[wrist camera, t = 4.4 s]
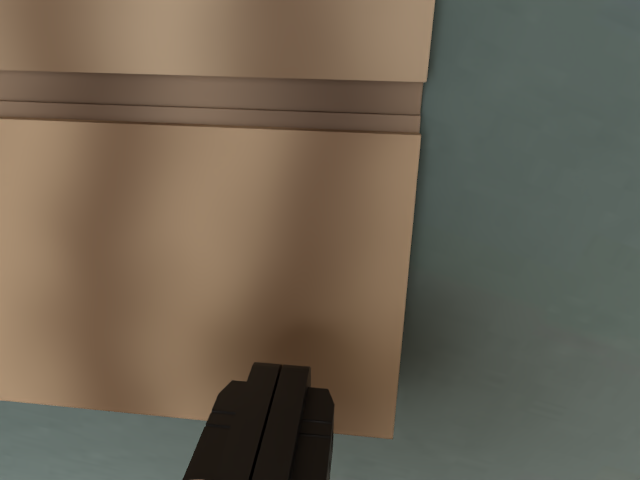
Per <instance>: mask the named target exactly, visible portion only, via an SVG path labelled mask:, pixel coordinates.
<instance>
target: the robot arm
mask: <svg viewBox="0 0 640 480" xmlns="http://www.w3.org/2000/svg"><path fill="white" fill-rule="evenodd" d="M334 407H335V404H334V402H333V399H332V397H331V394H330V392H329V390H328V389H325V388H314V387H311V367H309V366H297V365H286V364H283V366H282V364H273V363H261V362H254V363H253V365H252V368H251V371H250V373H249V376H248V379H247V381H236V380H232V381H231V382H230V383H229V384H228V385H227V386H226V387H225V388H224V389H223V390H222V391H221V392H220V393H219V394H218V396H217V398H216V401H215V403H214V406H213V408H212V412H211V413H210V415H209V418H208V420H207V422H206V427H204V430H203V432H202V434H201V437H200V439H199V442H198V444H197V447H196V449H195V451H194V454H193V456H192V459H191V461H190V463H189V466H188V468H187V471H186V473H185V475H184V478H183V480H329V479H330V470H331V460H332V450H333V432H334Z"/></svg>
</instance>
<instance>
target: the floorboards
mask: <svg viewBox="0 0 640 480" xmlns="http://www.w3.org/2000/svg"><path fill="white" fill-rule="evenodd" d="M434 6H435V0H0V100H7V101H36V102H64V103H93V104H121V105H150V106H179V107H207V108H236V109H264V110H293V111H322V112H350V113H379V114H408V115H420V109H421V99H422V90H423V82H427V73H428V64H429V54H430V44H431V35H432V25H433V16H434Z"/></svg>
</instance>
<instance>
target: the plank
mask: <svg viewBox="0 0 640 480" xmlns="http://www.w3.org/2000/svg"><path fill="white" fill-rule="evenodd" d="M420 120H421V116H420V115H408V114H379V113H350V112H322V111H293V110H264V109H236V108H207V107H179V106H150V105H121V104H93V103H64V102H36V101H7V100H0V400H4V401H14V402H24V403H34V404H44V405H54V406H64V407H74V408H84V409H94V410H104V411H114V412H124V413H134V414H144V415H154V416H164V417H174V418H185V419H195V420H205V421H207V420H208V418H209V415H210V413H211V412H212V408H213V406H214V403H215V401H216V398H217V396H218V394H219V393H220V392H221V391H222V390H223V389H224V388H225V387H226V386H227V385H228V384H229V383H230V382H231V381H232V380H236V381H247V379H248V376H249V373H250V371H251V368H252V365H253V363H254V362H261V363H273V364H282V366H283V364H286V365H297V366H309V367H311V387H314V388H325V389H328V390H329V392H330V394H331V397H332V399H333V402H334V404H335V407H334V432H333V433H335V434H345V435H355V436H365V437H376V438H386V439H393V431H394V421H395V410H396V399H397V389H398V378H399V367H400V356H401V346H402V335H403V324H404V314H405V303H406V292H407V282H408V271H409V260H410V249H411V239H412V228H413V217H414V207H415V196H416V185H417V175H418V164H419V153H420V143H421V134H420V133H419V130H420Z"/></svg>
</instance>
